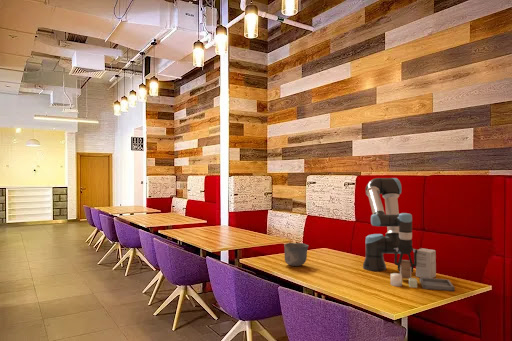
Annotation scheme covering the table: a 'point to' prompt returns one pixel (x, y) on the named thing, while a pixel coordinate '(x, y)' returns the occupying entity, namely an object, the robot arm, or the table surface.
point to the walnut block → (405, 269)
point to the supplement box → (426, 263)
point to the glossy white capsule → (396, 279)
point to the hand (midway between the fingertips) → (405, 276)
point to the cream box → (413, 282)
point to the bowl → (295, 253)
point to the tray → (437, 284)
